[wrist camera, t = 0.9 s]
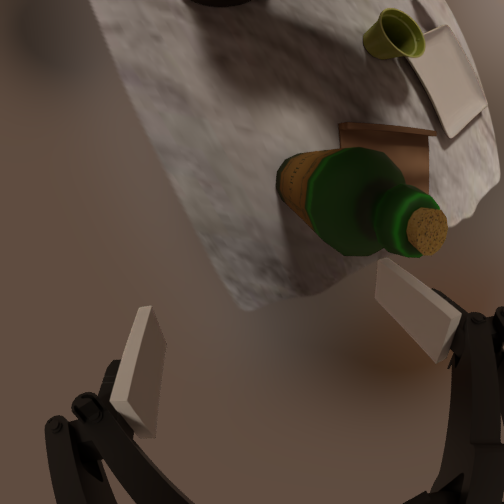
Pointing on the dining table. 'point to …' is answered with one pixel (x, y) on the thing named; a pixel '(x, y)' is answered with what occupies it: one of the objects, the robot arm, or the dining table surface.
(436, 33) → the salad plate
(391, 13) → the plant pot
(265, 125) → the dining table surface
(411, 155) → the cradle
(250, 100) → the dining table surface
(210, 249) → the dining table surface
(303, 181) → the bottle
